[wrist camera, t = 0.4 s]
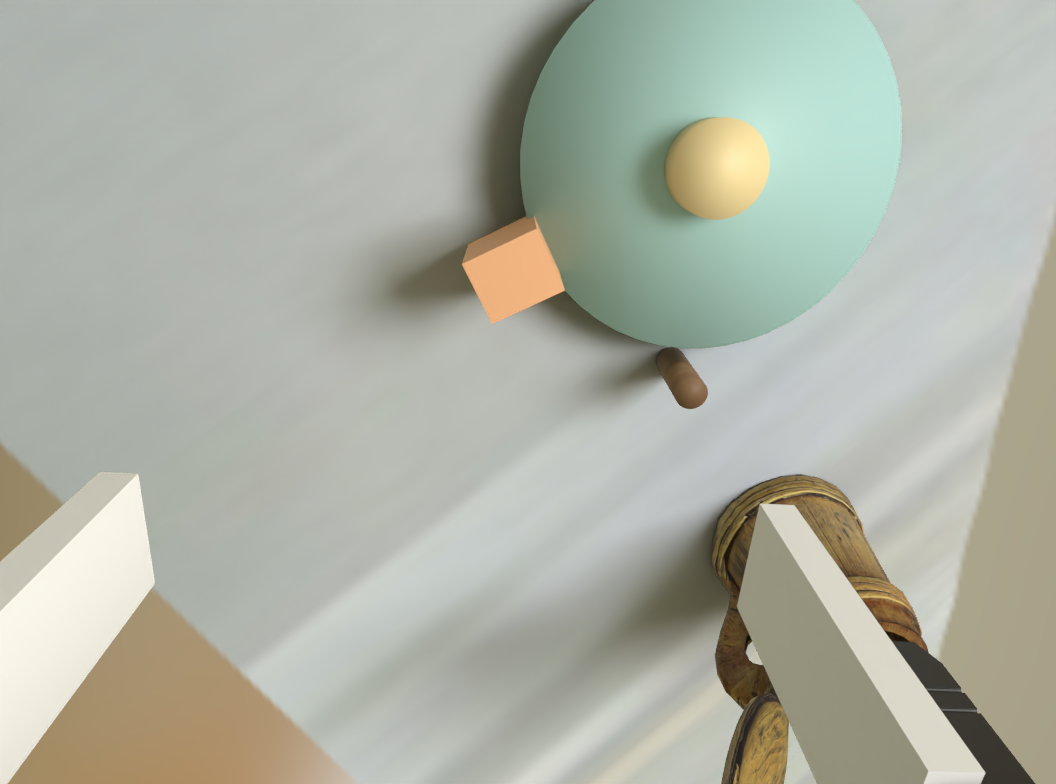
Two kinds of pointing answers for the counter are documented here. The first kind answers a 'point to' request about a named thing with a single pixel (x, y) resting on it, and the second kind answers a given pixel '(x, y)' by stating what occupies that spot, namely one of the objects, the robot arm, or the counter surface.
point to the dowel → (681, 378)
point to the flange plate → (656, 96)
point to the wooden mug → (763, 722)
